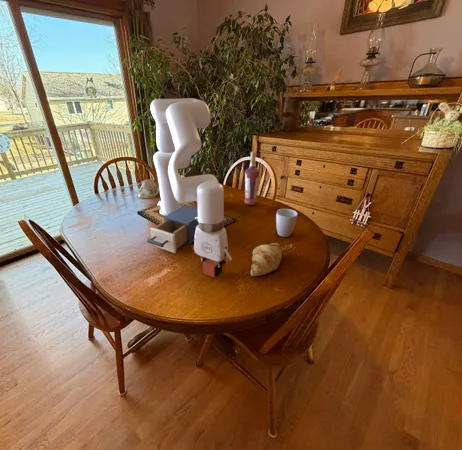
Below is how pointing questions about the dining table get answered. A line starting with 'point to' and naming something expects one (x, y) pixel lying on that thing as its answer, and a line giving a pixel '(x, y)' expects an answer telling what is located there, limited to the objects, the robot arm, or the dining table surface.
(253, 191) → the liquor
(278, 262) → the croissant
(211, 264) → the block
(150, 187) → the ceramic model
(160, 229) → the drawer
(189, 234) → the cabinet
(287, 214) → the cup
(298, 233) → the dining table surface
